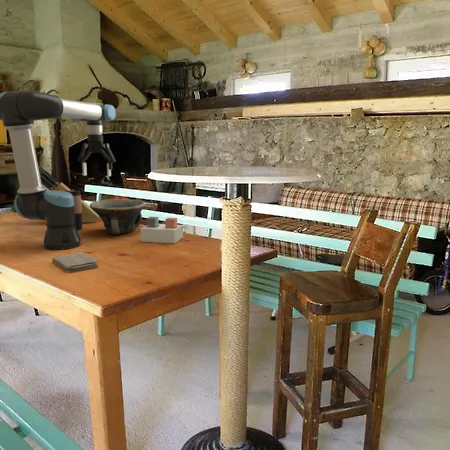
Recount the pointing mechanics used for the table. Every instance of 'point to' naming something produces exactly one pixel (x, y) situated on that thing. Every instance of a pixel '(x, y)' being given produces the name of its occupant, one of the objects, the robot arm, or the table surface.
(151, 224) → the grey metal cube
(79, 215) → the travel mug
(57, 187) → the knife block
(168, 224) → the pink cube
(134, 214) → the bowl
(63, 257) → the washcloth
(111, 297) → the table surface
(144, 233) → the block
